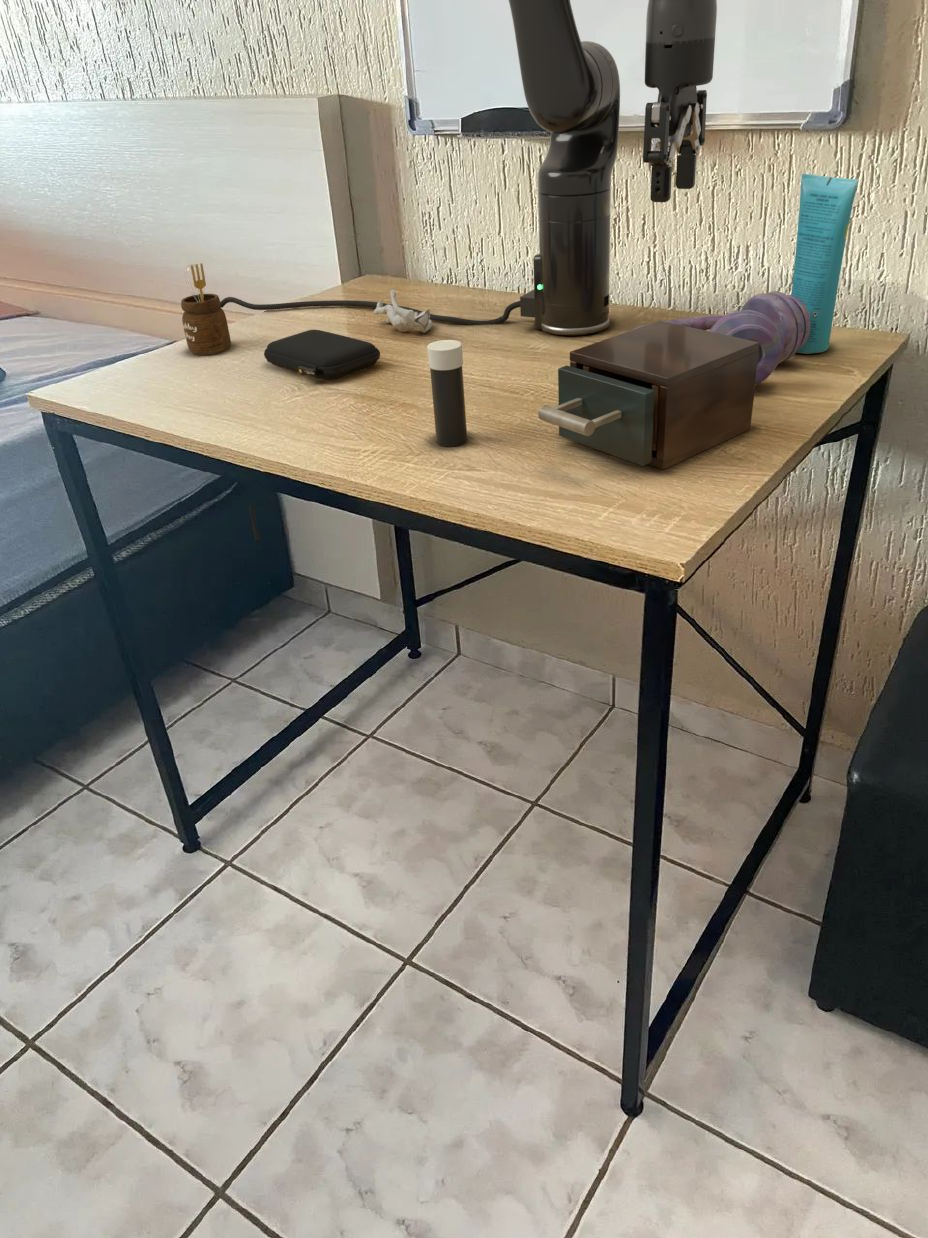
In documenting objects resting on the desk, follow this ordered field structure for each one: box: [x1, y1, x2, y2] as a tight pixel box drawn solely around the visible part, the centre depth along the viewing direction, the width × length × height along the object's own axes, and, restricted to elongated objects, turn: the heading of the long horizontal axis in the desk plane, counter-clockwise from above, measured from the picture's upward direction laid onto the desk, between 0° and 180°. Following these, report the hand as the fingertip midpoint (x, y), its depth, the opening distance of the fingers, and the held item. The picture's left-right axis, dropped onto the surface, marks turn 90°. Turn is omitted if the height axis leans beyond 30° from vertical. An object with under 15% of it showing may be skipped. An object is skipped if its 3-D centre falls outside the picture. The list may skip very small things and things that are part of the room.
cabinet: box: [569, 320, 759, 470], centre depth 93 cm, size 13×12×9 cm
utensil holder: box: [180, 262, 232, 356], centre depth 128 cm, size 6×6×12 cm
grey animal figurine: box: [373, 289, 434, 334], centre depth 131 cm, size 8×5×12 cm
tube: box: [791, 173, 860, 355], centre depth 109 cm, size 7×5×19 cm, turn 39°
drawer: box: [537, 364, 660, 467], centre depth 91 cm, size 17×11×7 cm, turn 130°
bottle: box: [426, 339, 468, 448], centre depth 95 cm, size 3×3×10 cm
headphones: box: [631, 290, 811, 386], centre depth 109 cm, size 18×8×20 cm
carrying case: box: [263, 329, 381, 381], centre depth 121 cm, size 11×3×15 cm
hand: (672, 194), depth 113 cm, fingers open, 8 cm apart
